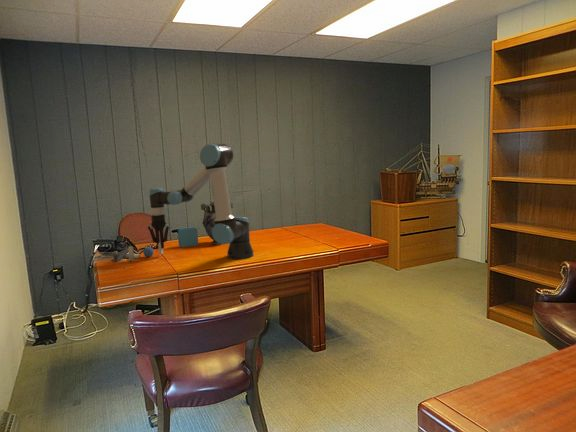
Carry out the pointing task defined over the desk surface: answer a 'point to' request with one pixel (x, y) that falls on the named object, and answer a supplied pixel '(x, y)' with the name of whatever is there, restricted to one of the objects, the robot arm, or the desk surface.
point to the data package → (188, 237)
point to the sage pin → (131, 253)
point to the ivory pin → (134, 255)
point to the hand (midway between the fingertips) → (161, 253)
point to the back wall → (120, 255)
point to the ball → (148, 251)
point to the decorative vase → (210, 219)
